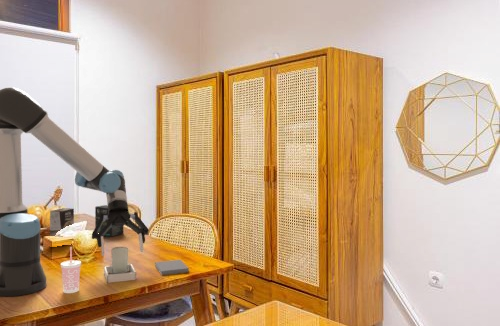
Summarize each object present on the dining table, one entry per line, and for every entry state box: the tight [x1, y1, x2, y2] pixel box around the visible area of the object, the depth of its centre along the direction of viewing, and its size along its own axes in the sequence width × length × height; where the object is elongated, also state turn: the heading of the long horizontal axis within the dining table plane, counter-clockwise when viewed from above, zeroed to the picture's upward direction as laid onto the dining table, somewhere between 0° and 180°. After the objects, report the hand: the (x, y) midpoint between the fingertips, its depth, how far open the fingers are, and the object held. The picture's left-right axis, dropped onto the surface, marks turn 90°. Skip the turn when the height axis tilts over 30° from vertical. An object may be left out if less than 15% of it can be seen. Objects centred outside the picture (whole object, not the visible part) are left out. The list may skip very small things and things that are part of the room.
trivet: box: [154, 259, 190, 276], centre depth 159 cm, size 10×12×2 cm
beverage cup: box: [60, 246, 82, 294], centre depth 134 cm, size 6×6×14 cm
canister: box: [111, 246, 129, 275], centre depth 149 cm, size 6×6×10 cm
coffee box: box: [49, 207, 75, 237], centre depth 193 cm, size 9×6×16 cm
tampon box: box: [94, 204, 125, 238], centre depth 215 cm, size 11×9×15 cm
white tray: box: [103, 263, 137, 284], centre depth 149 cm, size 10×11×2 cm
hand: (122, 252), depth 152 cm, fingers open, 13 cm apart
